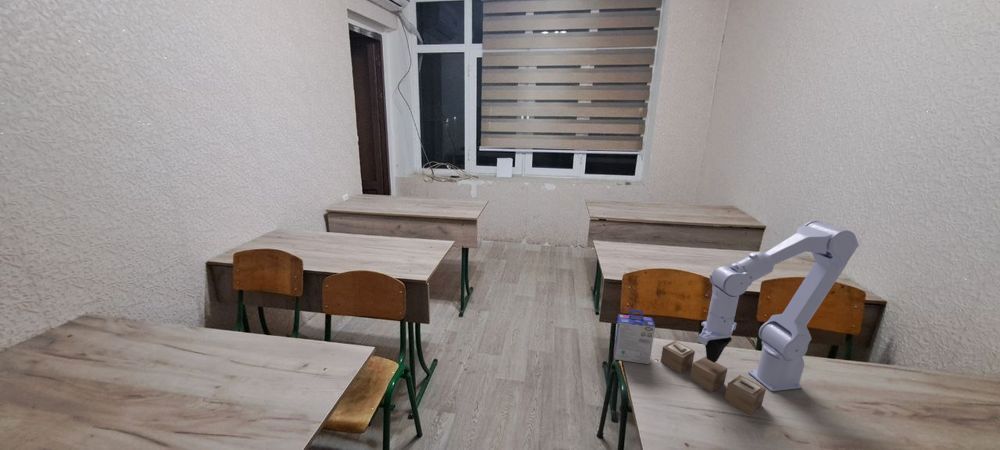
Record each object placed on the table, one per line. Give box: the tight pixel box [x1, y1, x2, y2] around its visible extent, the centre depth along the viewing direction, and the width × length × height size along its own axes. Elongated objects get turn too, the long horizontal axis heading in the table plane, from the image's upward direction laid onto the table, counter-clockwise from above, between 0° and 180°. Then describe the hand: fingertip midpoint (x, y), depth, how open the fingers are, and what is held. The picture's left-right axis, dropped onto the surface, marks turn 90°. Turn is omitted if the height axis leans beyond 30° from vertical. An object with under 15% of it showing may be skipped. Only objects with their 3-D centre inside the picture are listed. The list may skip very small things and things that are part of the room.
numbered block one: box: [723, 374, 767, 416], centre depth 94 cm, size 6×6×5 cm
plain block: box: [689, 356, 728, 393], centre depth 101 cm, size 6×6×5 cm
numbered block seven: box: [660, 340, 696, 374], centre depth 108 cm, size 6×6×5 cm
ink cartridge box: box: [613, 308, 656, 365], centre depth 110 cm, size 10×6×14 cm, turn 78°
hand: (711, 359), depth 100 cm, fingers closed
